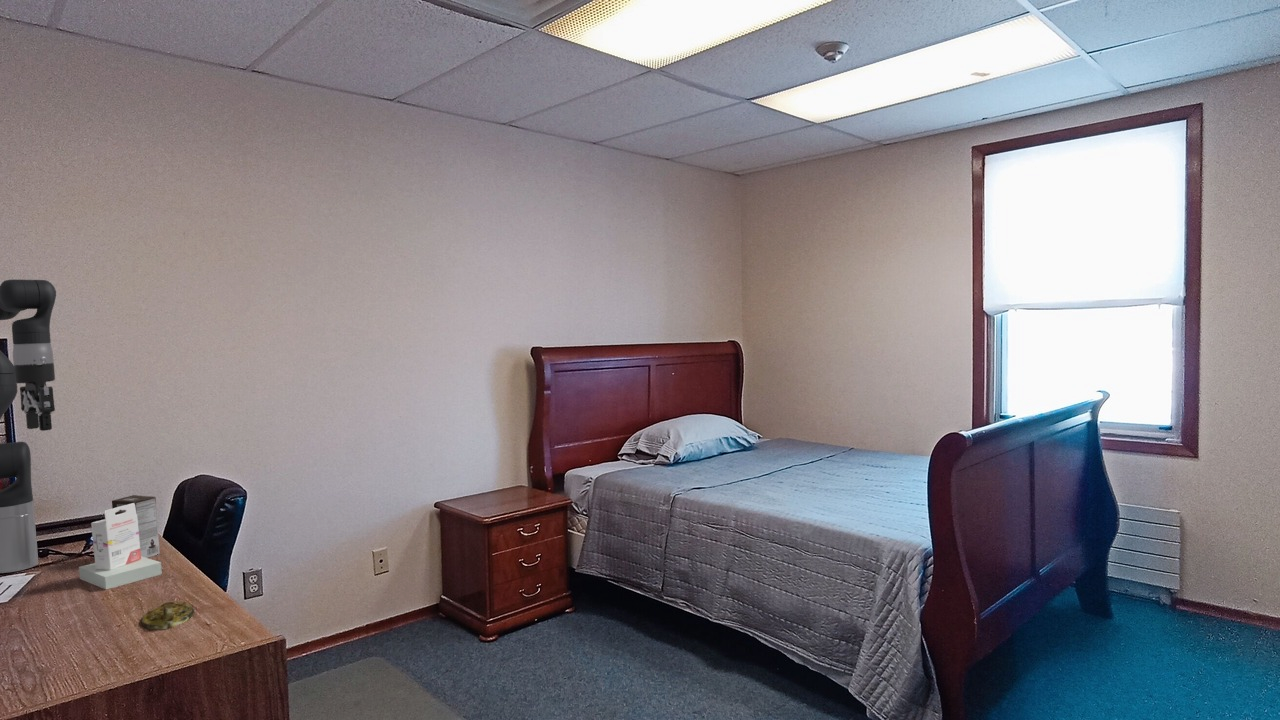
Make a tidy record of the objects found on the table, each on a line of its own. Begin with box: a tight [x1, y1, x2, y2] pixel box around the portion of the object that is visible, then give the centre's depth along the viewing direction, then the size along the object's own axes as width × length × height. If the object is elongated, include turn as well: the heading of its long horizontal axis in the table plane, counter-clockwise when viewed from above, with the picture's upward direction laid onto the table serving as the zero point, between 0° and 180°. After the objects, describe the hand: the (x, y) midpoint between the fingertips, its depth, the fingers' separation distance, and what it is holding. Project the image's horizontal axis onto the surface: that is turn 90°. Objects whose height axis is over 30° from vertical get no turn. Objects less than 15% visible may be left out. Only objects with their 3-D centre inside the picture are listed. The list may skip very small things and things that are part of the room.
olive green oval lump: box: [141, 601, 195, 630], centre depth 155 cm, size 9×5×15 cm
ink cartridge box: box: [90, 503, 141, 570], centre depth 184 cm, size 9×5×15 cm, turn 165°
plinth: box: [78, 556, 163, 590], centre depth 184 cm, size 16×12×3 cm
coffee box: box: [111, 494, 160, 559], centre depth 201 cm, size 9×6×16 cm
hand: (39, 429), depth 179 cm, fingers open, 8 cm apart
